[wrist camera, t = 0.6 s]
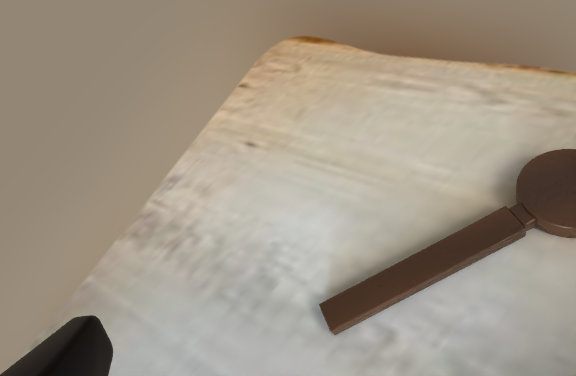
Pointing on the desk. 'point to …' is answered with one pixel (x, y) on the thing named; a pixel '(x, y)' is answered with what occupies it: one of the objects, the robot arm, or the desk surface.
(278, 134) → the desk surface
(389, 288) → the walnut spoon
